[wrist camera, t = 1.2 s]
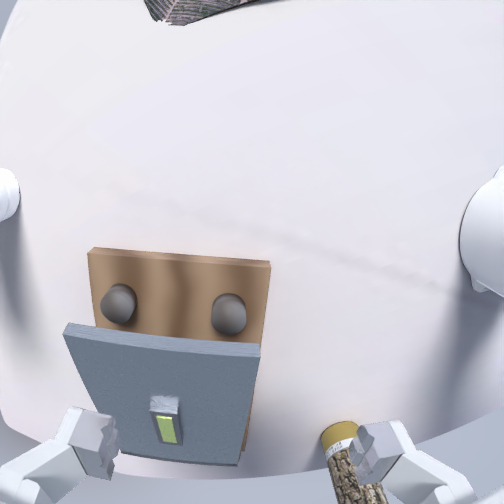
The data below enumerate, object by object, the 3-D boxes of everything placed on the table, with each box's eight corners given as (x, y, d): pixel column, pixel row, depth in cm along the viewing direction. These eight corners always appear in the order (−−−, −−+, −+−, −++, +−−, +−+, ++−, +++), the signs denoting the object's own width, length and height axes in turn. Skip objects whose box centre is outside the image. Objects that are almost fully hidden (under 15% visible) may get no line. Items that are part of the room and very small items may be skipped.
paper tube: (323, 447, 47) (355, 566, 23) (316, 427, 44) (351, 561, 21) (359, 435, 46) (402, 550, 23) (356, 414, 44) (405, 542, 21)
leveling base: (269, 261, 34) (274, 278, 30) (244, 442, 45) (245, 464, 40) (94, 247, 33) (76, 261, 28) (124, 429, 43) (118, 450, 39)
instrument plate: (259, 342, 26) (261, 367, 23) (236, 457, 39) (236, 473, 37) (69, 321, 24) (57, 343, 22) (124, 445, 38) (121, 460, 35)
